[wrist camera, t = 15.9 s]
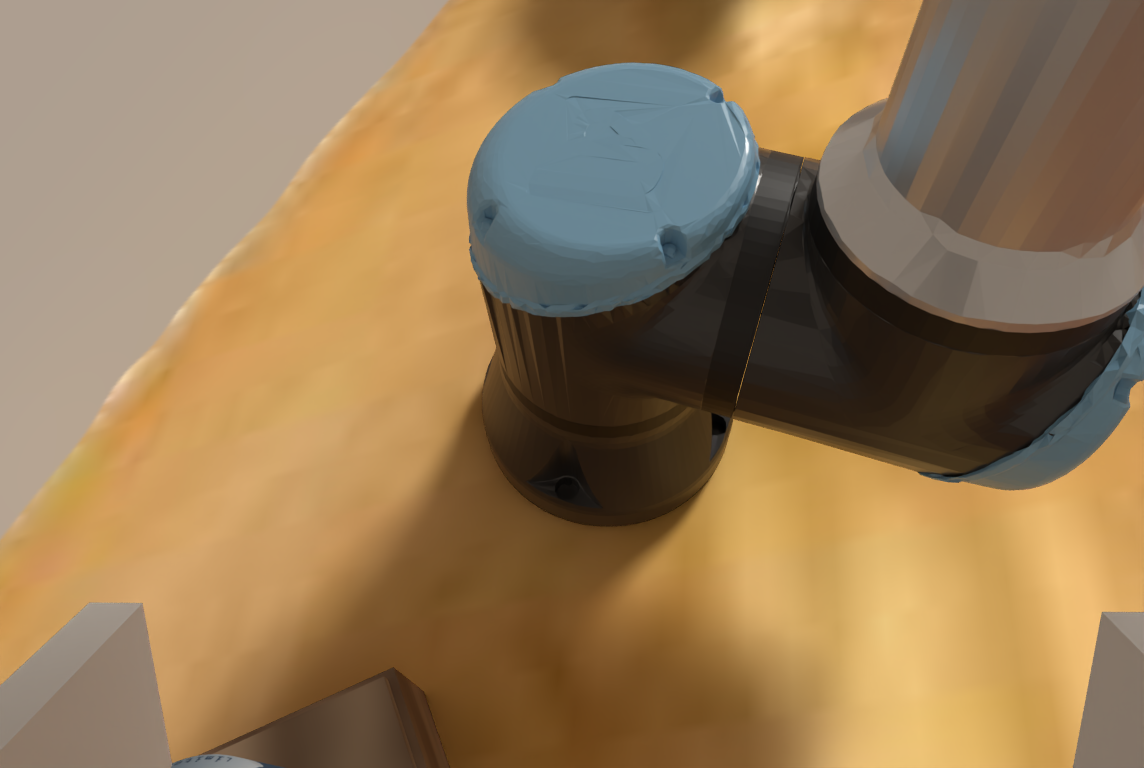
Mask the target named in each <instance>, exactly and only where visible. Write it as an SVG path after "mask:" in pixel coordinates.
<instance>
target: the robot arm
mask: <svg viewBox="0 0 1144 768" xmlns="http://www.w3.org/2000/svg"><path fill="white" fill-rule="evenodd" d="M803 158H804V157H800V156H795V155H791V154H786V153H781V152H777V151H772V150H768V149H764V148H759V147H758V144H757V142H756V141H755V136H754V134H753V131H752V129H751V126H750V124H749V121H748V119H747V117H746V115H745V114H744V112H743V110H742V109H741V108H740V107H739V105H737V104H736V103H735V102H732V101H731V102H726V101H725V100H724V97H723V91H722V89H721V88H720V87H719V86H717V85H716V84H714V83H713V82H711V81H709V80H708V79H706V78H704V77H702V76H699V75H697V74H694V73H691V72H688V71H686V70H683V69H680V68H675V67H671V66H666V65H660V64H652V63H618V64H609V65H603V66H597V67H593V68H588V69H585V70H581V71H578V72H575V73H572V74H569V75H566V76H564V77H561V78H560V79H559V80H558V82H557V83H556V84H554V85H553V86H550V87H547V88H544V89H541V90H537V91H534V92H532V93H531V94H529V95H528V96H526V97H525V98H523V99H522V100H521V101H519V102H518V103H517V104H516V105H514V106H513V107H512V108H511V109H510V110H509V111H508V112H507V113H506V114H505V115H504V116H503V117H502V118H501V119H500V120H499V121H498V122H497V123H496V124H495V126H494V127H493V128H492V129H491V131H490V132H489V134H488V135H487V137H486V138H485V140H484V141H483V143H482V145H481V147H480V148H479V150H478V152H477V155H476V157H475V159H474V162H473V165H472V168H471V171H470V176H469V180H468V187H467V210H468V219H469V229H470V236H469V243H470V244H471V246H470V249H469V251H470V256H471V262H472V264H473V268H474V270H475V272H476V274H477V275H478V280H480V284H481V288H482V292H483V296H484V300H485V304H486V308H487V312H488V316H489V320H490V324H491V328H492V332H493V336H494V340H495V344H496V350H495V353H494V355H493V357H492V359H491V361H490V364H489V366H488V369H487V372H486V376H485V380H484V385H483V395H482V412H483V420H484V425H485V430H486V433H487V436H488V440H489V443H490V446H491V449H492V452H493V455H494V457H495V459H496V461H497V463H498V465H499V467H500V468H501V470H502V472H503V473H504V475H505V476H506V478H507V479H508V480H509V481H510V483H511V484H512V485H513V486H514V487H515V488H516V489H517V490H518V491H519V492H520V493H521V494H522V495H523V496H524V497H526V498H527V499H528V500H529V501H531V502H532V503H533V504H535V505H537V506H538V507H540V508H541V509H543V510H545V511H547V512H549V513H551V514H553V515H555V516H557V517H560V518H563V519H566V520H569V521H572V522H576V523H580V524H586V525H593V526H624V525H631V524H636V523H640V522H644V521H648V520H651V519H654V518H656V517H659V516H661V515H664V514H666V513H668V512H670V511H672V510H673V509H675V508H677V507H678V506H680V505H681V504H683V503H684V502H686V501H687V500H688V499H690V498H691V497H692V496H693V495H694V494H695V493H697V492H698V491H699V490H700V489H701V488H702V486H703V485H704V484H705V483H706V482H707V481H708V479H709V478H710V477H711V475H712V474H713V472H714V471H715V469H716V468H717V466H718V464H719V462H720V460H721V458H722V456H723V453H724V451H725V448H726V445H727V441H728V438H729V434H730V431H731V426H732V422H733V419H735V420H738V421H742V422H746V423H749V424H753V425H757V426H760V427H764V428H768V429H771V430H775V431H778V432H782V433H786V434H789V435H793V436H796V437H800V438H803V439H807V440H810V441H814V442H817V443H820V444H824V445H827V446H831V447H834V448H838V449H841V450H844V451H848V452H851V453H855V454H858V455H861V456H865V457H868V458H872V459H875V460H879V461H882V462H885V463H889V464H892V465H896V466H899V467H903V468H906V469H909V470H913V471H916V472H918V473H919V474H920V475H923V476H925V477H928V478H931V479H934V480H940V481H945V482H956V483H959V482H961V481H963V482H968V483H972V484H977V485H981V486H986V487H990V488H995V489H1000V490H1026V489H1032V488H1035V487H1039V486H1042V485H1045V484H1048V483H1050V482H1052V481H1054V480H1056V479H1058V478H1060V477H1062V476H1064V475H1066V474H1067V473H1069V472H1070V471H1072V470H1073V469H1075V468H1076V467H1077V466H1079V465H1080V464H1081V463H1083V462H1084V461H1085V460H1086V459H1087V458H1089V457H1090V456H1091V455H1092V454H1093V453H1094V452H1095V451H1096V450H1097V449H1098V448H1099V447H1100V446H1101V445H1102V444H1103V443H1104V442H1105V440H1106V439H1107V438H1108V437H1109V436H1110V435H1111V433H1112V432H1113V431H1114V430H1115V428H1116V427H1117V426H1118V424H1119V423H1120V421H1121V420H1122V418H1123V417H1124V416H1125V414H1126V413H1127V411H1128V410H1129V408H1130V403H1129V394H1130V389H1131V388H1132V387H1133V386H1134V385H1135V384H1136V383H1137V382H1139V381H1143V380H1144V0H923V2H922V4H921V7H920V10H919V13H918V16H917V18H916V21H915V24H914V27H913V30H912V32H911V35H910V38H909V41H908V44H907V46H906V49H905V52H904V55H903V58H902V60H901V63H900V66H899V69H898V72H897V74H896V77H895V80H894V83H893V86H892V88H891V91H890V94H889V97H888V98H886V99H883V100H880V101H878V102H876V103H873V104H871V105H869V106H867V107H865V108H864V109H862V110H860V111H859V112H857V113H856V114H854V115H852V116H851V117H850V118H849V119H848V120H847V121H846V122H844V123H843V124H842V125H841V126H840V127H839V128H838V130H837V131H836V132H835V134H834V135H833V137H832V138H831V140H830V142H829V144H828V146H827V147H826V149H825V151H824V154H823V156H822V158H821V160H816V159H811V158H806V157H805V159H804V162H803ZM802 163H803V166H802ZM801 166H802V169H801ZM800 171H801V173H800ZM783 233H784V234H783ZM781 240H782V241H781ZM779 247H780V248H779ZM778 251H779V252H778ZM777 254H778V255H777ZM776 258H777V259H776ZM775 261H776V262H775ZM774 265H775V266H774ZM773 268H774V270H773ZM772 272H773V273H772ZM771 275H772V277H771ZM770 279H771V280H770ZM769 283H770V284H769ZM768 286H769V288H768ZM767 290H768V291H767ZM766 293H767V295H766ZM765 297H766V298H765ZM764 300H765V302H764ZM763 304H764V306H763ZM762 307H763V309H762ZM761 311H762V313H761ZM760 314H761V316H760ZM759 318H760V320H759ZM758 321H759V324H758ZM757 325H758V327H757ZM756 329H757V331H756ZM755 332H756V334H755ZM754 336H755V338H754ZM753 340H754V342H753ZM752 343H753V345H752ZM751 346H752V349H751ZM750 350H751V353H750ZM749 353H750V356H749ZM748 357H749V360H748ZM747 360H748V363H747ZM746 364H747V367H746ZM745 368H746V371H745ZM744 371H745V374H744ZM743 375H744V378H743ZM742 378H743V382H742ZM741 382H742V385H741ZM740 385H741V389H740ZM739 389H740V392H739ZM738 393H739V396H738ZM737 396H738V400H737ZM736 401H737V403H736ZM735 406H736V407H735ZM171 766H172V761H171V756H170V751H169V745H168V740H167V734H166V729H165V723H164V718H163V712H162V707H161V702H160V696H159V691H158V685H157V680H156V674H155V669H154V663H153V658H152V653H151V647H150V642H149V636H148V631H147V625H146V620H145V614H144V609H143V603H88V604H87V605H86V606H85V607H84V608H83V609H82V610H81V611H80V612H79V613H78V614H77V615H76V616H74V617H73V618H72V619H71V620H70V621H69V622H68V623H67V624H66V625H65V626H64V627H63V628H62V629H61V630H59V631H58V632H57V633H56V634H55V635H54V636H53V637H52V638H51V639H50V640H49V641H48V642H47V643H46V644H44V645H43V646H42V647H41V648H40V649H39V650H38V651H37V652H36V653H35V654H34V655H33V656H32V657H30V658H29V659H28V660H27V661H26V662H25V663H24V664H23V665H22V666H21V667H20V668H19V669H18V670H17V671H15V672H14V673H13V674H12V675H11V676H10V677H9V678H8V679H7V680H6V681H5V682H4V683H3V684H1V685H0V768H171ZM1073 768H1144V612H1102V615H1101V620H1100V625H1099V631H1098V636H1097V641H1096V647H1095V652H1094V657H1093V663H1092V668H1091V674H1090V679H1089V684H1088V690H1087V695H1086V700H1085V706H1084V711H1083V716H1082V722H1081V727H1080V732H1079V738H1078V743H1077V749H1076V754H1075V759H1074V765H1073Z"/></svg>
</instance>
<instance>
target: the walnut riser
mask: <svg viewBox="0 0 1144 768" xmlns="http://www.w3.org/2000/svg"><path fill="white" fill-rule="evenodd" d="M208 754H221V755H230V756H235V757H240V758H244V759H249V760H253V761H257V762H262V763H266V764H271V765H275V766H280V767H284V768H450V767H449V764H448V761H447V758H446V756H445V753H444V750H443V747H442V744H441V741H440V738H439V735H438V732H437V729H436V726H435V724H434V721H433V718H432V715H431V712H430V709H429V706H428V703H427V700H426V697H425V694H424V692H423V691H422V690H421V689H420V688H419V687H417V686H416V685H415V684H414V683H412V682H411V681H410V680H409V679H407V678H406V677H405V676H404V675H402V674H401V673H400V672H399V671H397V670H396V669H395V668H394V667H393V668H391V669H389V670H387V671H384V672H382V673H380V674H378V675H375V676H373V677H371V678H369V679H367V680H364V681H362V682H360V683H358V684H356V685H353V686H351V687H349V688H347V689H344V690H342V691H340V692H338V693H336V694H333V695H331V696H329V697H327V698H325V699H322V700H320V701H318V702H316V703H313V704H311V705H309V706H307V707H305V708H302V709H300V710H298V711H296V712H294V713H291V714H289V715H287V716H285V717H282V718H280V719H278V720H276V721H274V722H271V723H269V724H267V725H265V726H263V727H260V728H258V729H256V730H254V731H251V732H249V733H247V734H245V735H243V736H240V737H238V738H236V739H234V740H232V741H229V742H227V743H225V744H223V745H220V746H218V747H216V748H214V749H212V750H209V751H207V752H205V753H203V754H201V755H208ZM198 756H200V755H198Z"/></svg>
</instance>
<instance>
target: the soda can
mask: <svg viewBox="0 0 1144 768" xmlns="http://www.w3.org/2000/svg"><path fill="white" fill-rule="evenodd" d="M171 768H284V767H280V766H275V765H271V764H266V763H262V762H257V761H253V760H249V759H244V758H240V757H235V756H230V755H221V754H208V755H200V756H194V757H190V758H186V759H183V760H180V761H177V762H175V763H172V766H171Z"/></svg>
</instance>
